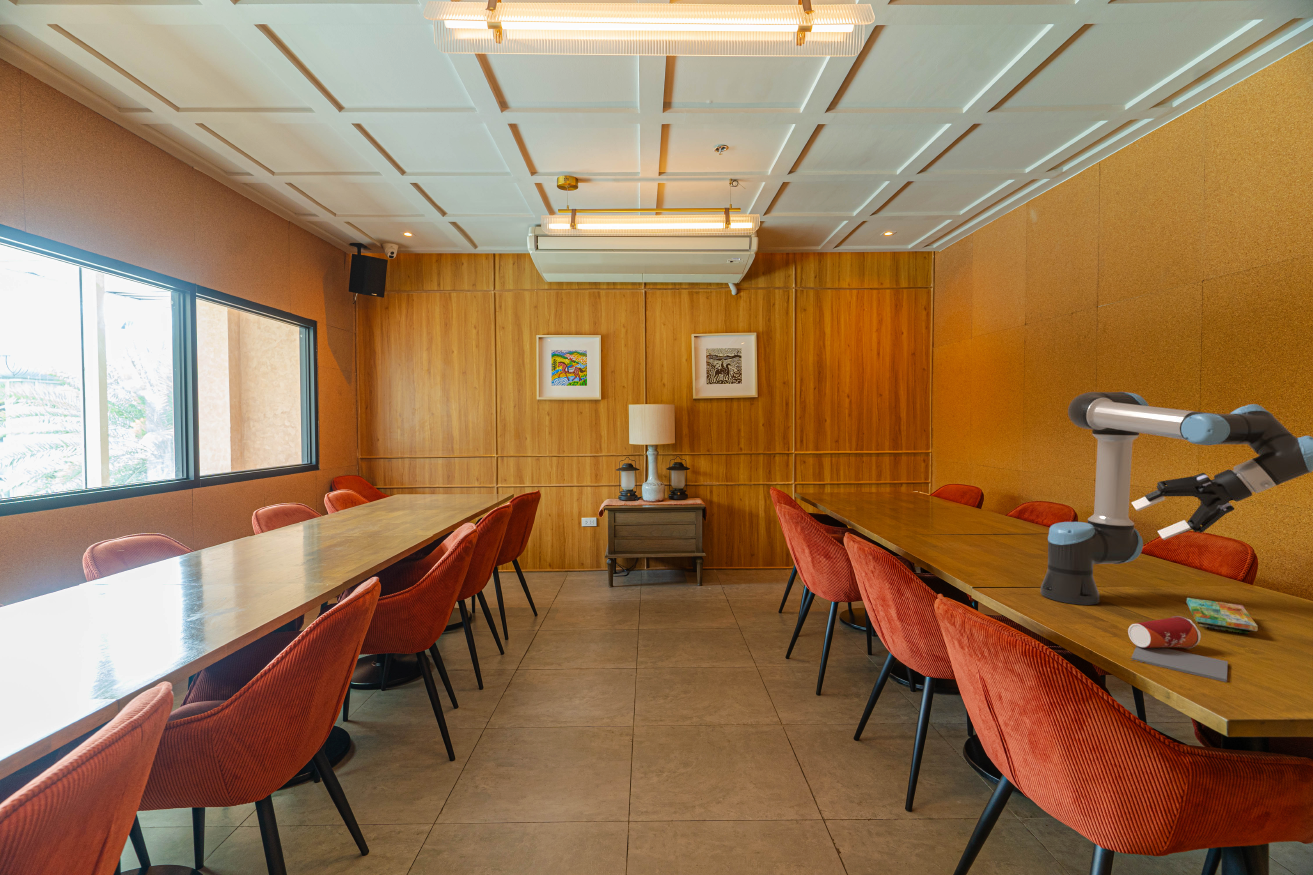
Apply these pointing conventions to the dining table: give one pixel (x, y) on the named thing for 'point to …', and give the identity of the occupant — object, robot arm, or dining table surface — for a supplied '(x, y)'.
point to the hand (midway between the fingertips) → (1147, 521)
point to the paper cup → (1165, 633)
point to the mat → (1183, 662)
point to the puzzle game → (1221, 616)
